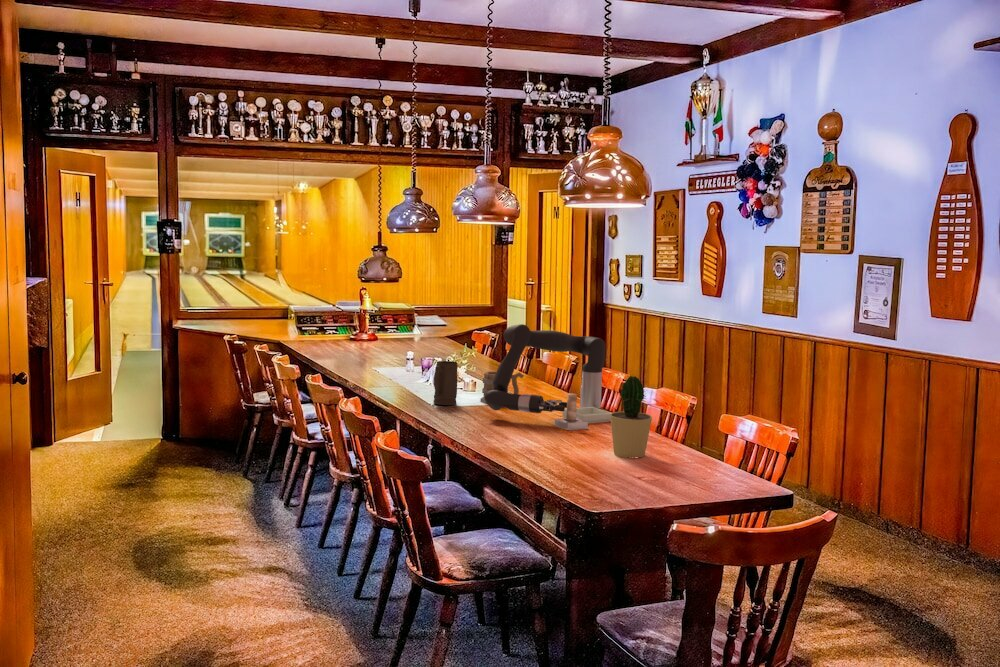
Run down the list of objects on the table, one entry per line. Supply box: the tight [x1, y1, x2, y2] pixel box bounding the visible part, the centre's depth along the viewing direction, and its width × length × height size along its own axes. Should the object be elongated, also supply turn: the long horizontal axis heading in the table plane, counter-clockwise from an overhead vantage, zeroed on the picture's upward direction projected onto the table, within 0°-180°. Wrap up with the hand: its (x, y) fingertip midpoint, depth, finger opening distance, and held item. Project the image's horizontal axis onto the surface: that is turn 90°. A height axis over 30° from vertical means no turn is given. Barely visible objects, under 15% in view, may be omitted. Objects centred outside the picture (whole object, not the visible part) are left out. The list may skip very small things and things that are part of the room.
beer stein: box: [432, 360, 459, 406], centre depth 431 cm, size 15×11×20 cm
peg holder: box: [554, 417, 589, 431], centre depth 391 cm, size 10×10×3 cm
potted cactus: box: [610, 374, 653, 459], centre depth 344 cm, size 15×15×30 cm
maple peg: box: [566, 393, 578, 422], centre depth 390 cm, size 4×4×14 cm
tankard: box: [480, 370, 524, 405], centre depth 442 cm, size 20×13×15 cm, turn 73°
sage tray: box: [562, 407, 612, 424], centre depth 409 cm, size 16×16×4 cm
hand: (567, 407), depth 391 cm, fingers open, 8 cm apart
